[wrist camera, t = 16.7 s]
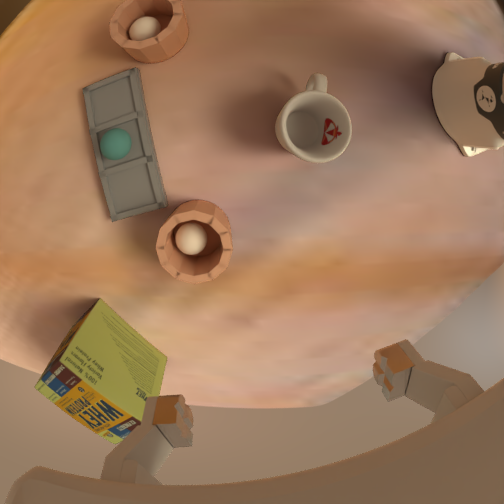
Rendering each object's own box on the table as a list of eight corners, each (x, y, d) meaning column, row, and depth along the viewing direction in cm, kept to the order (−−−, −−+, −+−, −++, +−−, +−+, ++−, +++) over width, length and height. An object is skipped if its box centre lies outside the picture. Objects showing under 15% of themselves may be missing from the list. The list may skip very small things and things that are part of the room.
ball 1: (132, 124, 31) (121, 122, 27) (138, 154, 33) (128, 155, 29) (104, 134, 31) (91, 134, 27) (111, 163, 33) (98, 165, 29)
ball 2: (165, 15, 26) (144, 8, 22) (168, 38, 27) (146, 31, 23) (143, 29, 27) (122, 23, 24) (146, 51, 29) (123, 47, 25)
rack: (86, 90, 29) (81, 88, 28) (139, 69, 29) (136, 67, 28) (115, 219, 36) (111, 222, 35) (168, 204, 36) (166, 207, 35)
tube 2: (222, 193, 37) (222, 203, 30) (236, 254, 40) (239, 275, 34) (159, 208, 36) (147, 221, 30) (176, 267, 40) (168, 289, 33)
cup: (277, 75, 32) (291, 58, 24) (335, 90, 33) (361, 78, 25) (263, 153, 35) (273, 155, 28) (321, 164, 36) (345, 170, 29)
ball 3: (208, 216, 36) (193, 226, 32) (215, 246, 37) (202, 258, 34) (181, 220, 37) (165, 230, 34) (189, 248, 39) (174, 260, 35)
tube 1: (184, 4, 26) (177, -19, 20) (193, 53, 29) (187, 35, 23) (123, 22, 26) (107, 4, 20) (130, 71, 29) (112, 59, 23)
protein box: (99, 296, 40) (57, 359, 26) (168, 357, 45) (155, 429, 31) (70, 327, 42) (32, 387, 27) (133, 381, 47) (115, 446, 32)
